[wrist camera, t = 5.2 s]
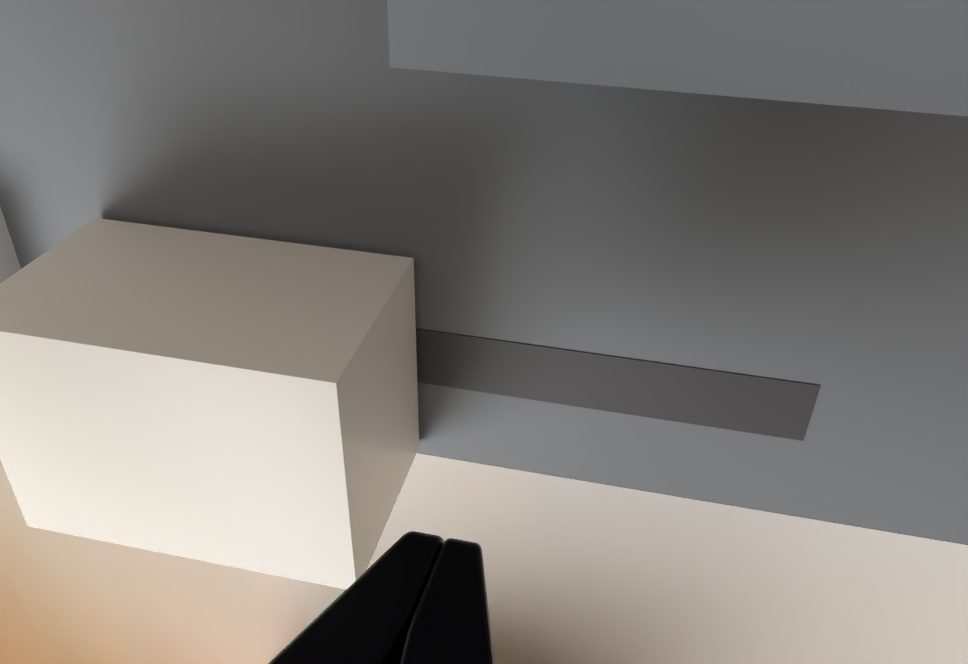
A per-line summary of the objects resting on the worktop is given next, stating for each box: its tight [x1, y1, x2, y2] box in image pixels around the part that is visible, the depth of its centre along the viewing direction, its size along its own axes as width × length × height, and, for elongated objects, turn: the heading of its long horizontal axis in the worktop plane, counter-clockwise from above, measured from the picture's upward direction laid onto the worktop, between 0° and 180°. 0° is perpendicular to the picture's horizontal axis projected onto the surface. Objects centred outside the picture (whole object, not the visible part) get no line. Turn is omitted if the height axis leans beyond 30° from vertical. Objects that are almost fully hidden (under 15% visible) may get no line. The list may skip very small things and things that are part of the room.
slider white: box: [0, 218, 419, 589], centre depth 12 cm, size 5×4×3 cm
